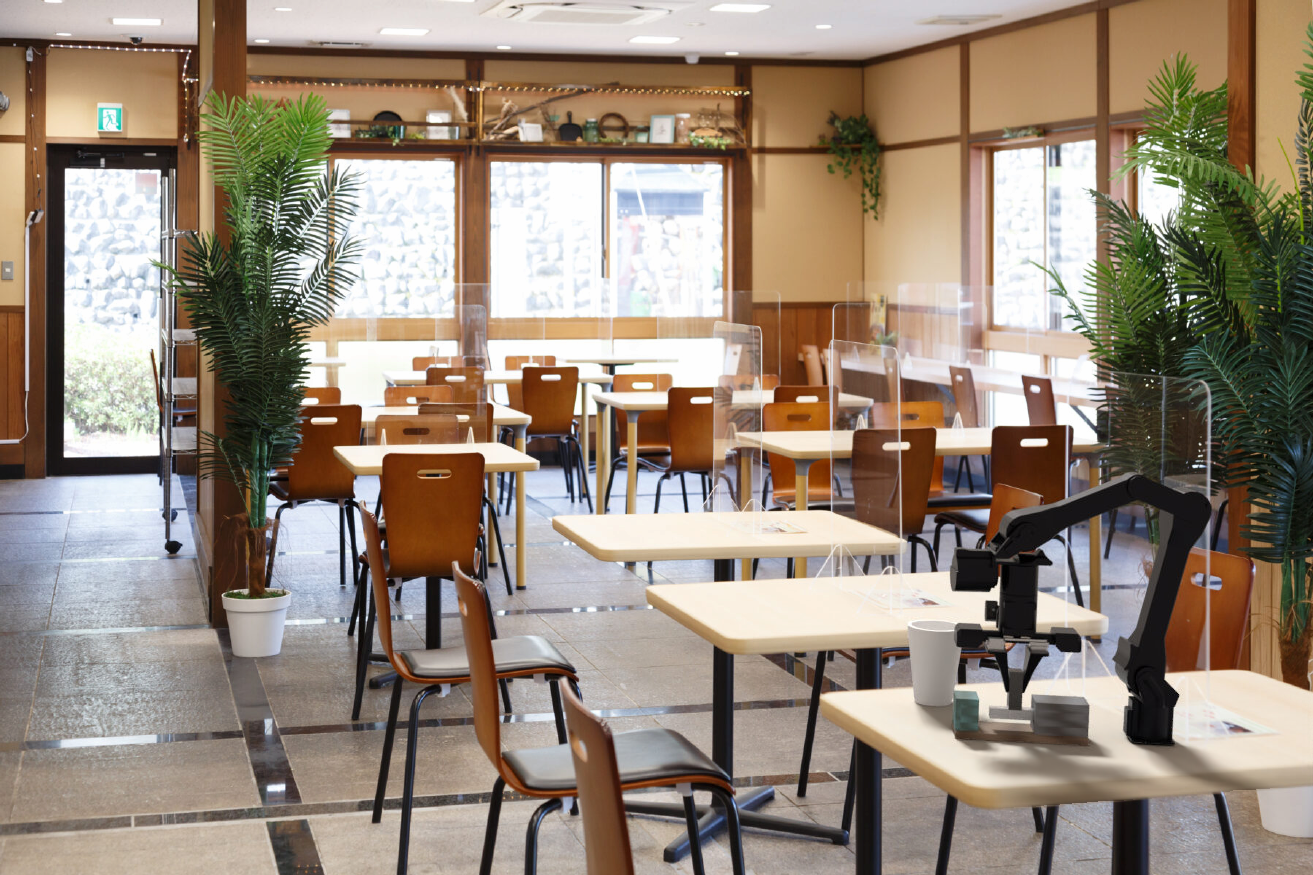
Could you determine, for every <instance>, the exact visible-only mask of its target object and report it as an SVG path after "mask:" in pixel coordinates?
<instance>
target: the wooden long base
mask: <svg viewBox="0 0 1313 875" xmlns="http://www.w3.org/2000/svg"><path fill="white" fill-rule="evenodd" d="M1030 696H1031V697H1030V698H1031V699H1030V708H1034V721H1030V720H1029V721H1030V722H1029V723H1023V722H1007V721H1006V722H1003V721H1000V722H999V721H987V720H985V721H982V720H979V719H980V718H979V713H980V697H979V695H978V693H977V691H974V690H958V689H957V690H956V689H954V693H953V700H952V719H951V727H952V728H951V729H952V731H953V732H952V733H953V736H954V739H956V740H957V739H958V740H959V739H961V740H975V741H994V742H1013V743H1016V742H1017V743H1027V744H1029V743H1030V744H1031V743H1032V744H1049V745H1064V746H1065V745H1066V746H1069V745H1070V746H1085V747H1089V746H1090V738H1089V727H1090V726H1089V725H1090V704H1089V703H1088V701H1087V699H1086V697H1084V696H1071V695H1069V696H1068V695H1053V694H1052V695H1051V694H1035V693H1033V694H1031V695H1030Z"/></svg>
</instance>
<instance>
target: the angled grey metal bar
mask: <svg viewBox="0 0 1313 875" xmlns="http://www.w3.org/2000/svg"><path fill="white" fill-rule="evenodd" d="M1008 672H1009V692H1006V706H1005V705H1004V706H1002V705H989V706H988V707H989V708H988V717H989V719H991V720H992V719H996V720H997V719H998V720H1015V721H1034V708H1031V707H1024V706H1023V693H1022V691H1023V668H1012V667H1008Z"/></svg>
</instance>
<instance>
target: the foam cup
mask: <svg viewBox="0 0 1313 875" xmlns="http://www.w3.org/2000/svg"><path fill="white" fill-rule="evenodd" d="M958 623H959V622H955V621H950V620H942V619H915V620H911V621H908V622H907V632H906V633H907V634H906V637H907V640H908V646H909V648H908V649H909V655H910V656H909V657H910V668H911V677H912V678H911V679H912V690H913V700H914V702H915V703H917V704H919V705H923V706H929V707H944V706H945V707H947V706H950V705H951V704H952V705H953V693H954V690H955V689H956V688H955V687H956V681H957V675H958V671H959V670H958V669H959V664H960V658H961V652H962V648H960V647H956V644H955V641H954V628H955V626H956V625H957V624H958Z"/></svg>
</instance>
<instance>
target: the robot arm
mask: <svg viewBox="0 0 1313 875" xmlns="http://www.w3.org/2000/svg"><path fill="white" fill-rule="evenodd" d="M1137 501H1140V502H1142V503H1145V504H1147V505H1150V506H1151V507H1154V508H1156V509H1159V512H1158V513H1159V515H1158V530H1159V531H1158V532H1159V544H1158V548H1157V552H1156V557H1155V559H1154V563H1153V567H1152V570H1151V573H1150V576H1149V580H1148V584H1147V588H1146V591H1145V594H1144V598H1143V601H1142V605H1141V609H1140V613H1139V617H1138V619H1137V623H1136V627H1135V628H1134V630H1133V631H1132V632H1131V634H1130V636H1128V638H1126V637H1124V636H1122V635H1119V638H1118V640H1117V649H1116V652H1115V654H1114V656H1113V657H1112V658H1111V660H1112V661H1113V662H1114V663H1115V664H1114V671H1115V672H1114V673H1115V674H1116V675H1117V677H1118V679H1119V680H1120V681H1121V682H1122V683H1124V684H1125V685H1126V689H1127V692H1128V693H1129V694H1131V695H1128V698H1127V699H1128V700H1127V701H1128V703H1127V705H1125V706H1124V707H1123V727H1122V731H1123V732H1124V734H1125V735H1126V736H1127V738H1128V739H1129V741H1130V742H1131V743H1132V744H1149V745H1166V746H1168V745H1169V746H1175V745H1176V741H1175V740H1174V738H1173V736H1174V735H1173V732H1174V731H1173V730H1174V714H1175V712H1174V710H1175V707H1176V706H1177V704H1178V701H1179V698H1180V693H1178V691H1177V690H1176V689H1175V688H1174V687H1172V685H1171V684H1170V683H1169V682H1168V681H1167V680H1166V679H1165V678H1166V670H1167V650H1166V649H1167V648H1166V637H1167V634H1168V629H1169V626H1170V622H1171V619H1172V615H1173V613H1174V612H1173V611H1174V609H1175V604H1176V602H1177V596H1178V595H1179V591H1180V587H1181V583H1182V580H1183V576H1184V574H1185V570H1186V565H1187V562H1188V559H1189V555H1190V552H1191V551H1192V549H1193V548H1194V547H1195V545H1196V543H1197V542H1198V541H1199V540H1200V539H1201V537H1202V536H1203V534H1204V533H1205V531H1206V529H1207V526H1208V524H1209V522H1210V519H1211V518H1212V514H1213V505H1212V503H1211V502H1210V500H1209V498H1208V497H1207V496H1205V494H1203V493H1202V492H1199V491H1196V490H1193V489H1190V488H1187V487H1184V486H1183V487H1182V486H1177V487H1173V488H1171V487H1169V486H1166V485H1164V484H1161V483H1159V482H1157V481H1154V480H1151V479H1150V478H1148V477H1147V476H1146V475H1143V474H1142V473H1138V472H1135V471H1129V472H1125V473H1124V474H1123V475H1121V476H1120V477H1116V478H1114V479H1111V480H1109V481H1107V482H1105V483H1102V484H1100V485H1099V484H1098V485H1097V486H1093V487H1092V488H1089V489H1086V490H1084V491H1082V492H1078V493H1076V494H1073V495H1072V496H1069V497H1067V498H1064V499H1060V500H1059V501H1055V502H1054V503H1049V504H1041V505H1034V506H1033V505H1032V506H1028V507H1024V508H1019V509H1013V510H1009V512H1006V513H1004V514H1003V516H1002V518H1001V520H1000V522H999V527H998V531H997V532H996V533H995V534H994V536H993V537H992V538H991V539H990V540H989V542H988V543H987V544H986V546H985V547H984V548H966V547H963V546H962V547H961V546H956V547H954V549H953V556H952V559H951V565H950V566H949V582H950V583H949V584H950V588H951V589H950V590H951V591H952V592H958V593H960V592H961V593H966V592H967V593H991V591H992V589H996V588H995V587H996V586H998V583H999V601H998V600H987V599H986V600H985V601H984V621H985V622H991V623H995V628H996V629H997V630H996V629H983V627H982V625H981V623H974V622H973V623H970V622H968V623H967V622H957V623H958V624H957V625H956V626H955V628H954V641H955V644H956V647H960V648H961V649H962V648H963V649H964V648H965V649H979V647H980V646H982V645H983V644H984V649H985V651H986V653H987V655H992V656H994V658H995V660H996V663H997V665H998V670H999V673H1000V678H1001V680H1002V684H1003V688H1004V691H1005V693H1007V692H1009V672H1008V668H1009V660H1008V651H1007V649H1006V647H1005V646H1006V644H1024V645H1025V646H1024V659H1023V666H1022V671H1023V691H1022V694H1025V692H1026V690H1027V687H1028V686H1029V683H1030V681H1031V679H1032V676H1033V674H1034V673H1035V670H1036V669H1037V667H1038V666H1039V664H1040V662H1041V661H1042V659H1043V658H1047V657H1050V652H1049V650H1048V648H1049V647H1050V646H1055V648H1057V650H1059V652H1060V653H1069V654H1070V653H1075V654H1079V653H1082V647H1083V645H1082V641H1083V640H1082V636H1081V635H1080V634H1079V633H1078V632H1077V630H1076V629H1075V628H1074V627H1066V626H1065V627H1063V626H1062V627H1060V626H1051V627H1050V632H1042V631H1041V632H1040V631H1037V619H1038V598H1039V597H1038V594H1039V591H1038V590H1039V575H1040V574H1039V573H1040V572H1039V571H1040V570H1039V569H1040V566H1042V567H1045V566H1046V567H1051V566H1053V564H1054V562H1053V561H1052V560H1051V559H1050V558H1049V557H1048V556H1047V555H1046V554H1045V551H1044V550H1043V549H1041V548H1040V547H1041V546H1043V545H1045V544H1047V543H1048V542H1050V541H1051V540H1053V538H1055V537H1056V536H1058V535H1059V534H1060V533H1061V532H1063V531H1064V530H1066V529H1067V528H1069V527H1072V526H1075V525H1077V524H1079V523H1080V524H1081V523H1083V522H1085V521H1087V520H1089V519H1092V518H1095V517H1098V516H1100V515H1104V514H1105V513H1108V512H1110V511H1113V510H1116V509H1118V508H1120V507H1123V506H1126V505H1129V504H1131V503H1133V502H1137ZM1033 551H1034V552H1033ZM1030 552H1031V553H1030ZM999 565H1000V569H999ZM999 572H1000V573H999Z"/></svg>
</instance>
